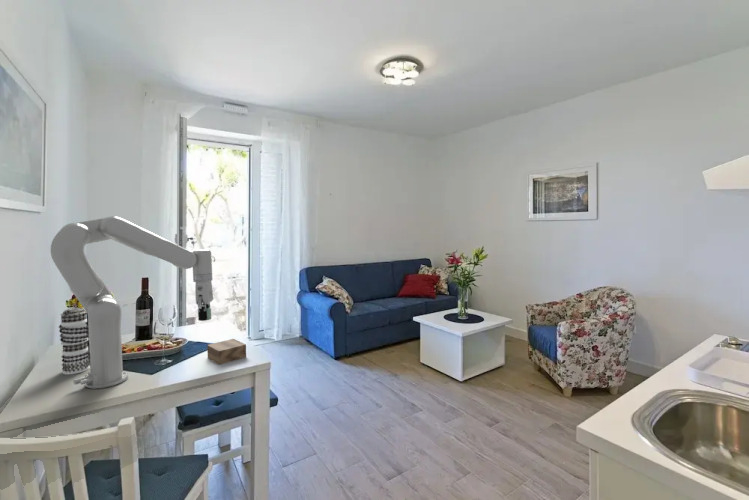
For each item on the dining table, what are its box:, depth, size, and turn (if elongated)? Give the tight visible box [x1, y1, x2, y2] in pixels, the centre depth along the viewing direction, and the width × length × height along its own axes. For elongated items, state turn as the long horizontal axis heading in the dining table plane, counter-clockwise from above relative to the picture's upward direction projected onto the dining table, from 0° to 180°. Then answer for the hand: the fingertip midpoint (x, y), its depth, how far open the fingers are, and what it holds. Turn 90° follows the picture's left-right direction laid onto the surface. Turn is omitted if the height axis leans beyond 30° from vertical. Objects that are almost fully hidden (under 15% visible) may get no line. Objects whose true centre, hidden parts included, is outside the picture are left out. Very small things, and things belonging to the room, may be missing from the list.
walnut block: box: [206, 338, 247, 365], centre depth 155 cm, size 12×12×6 cm
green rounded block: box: [197, 307, 212, 322], centre depth 152 cm, size 5×5×4 cm
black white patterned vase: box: [58, 307, 90, 375], centre depth 140 cm, size 9×9×25 cm
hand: (204, 318), depth 153 cm, fingers closed on green rounded block, 5 cm apart
